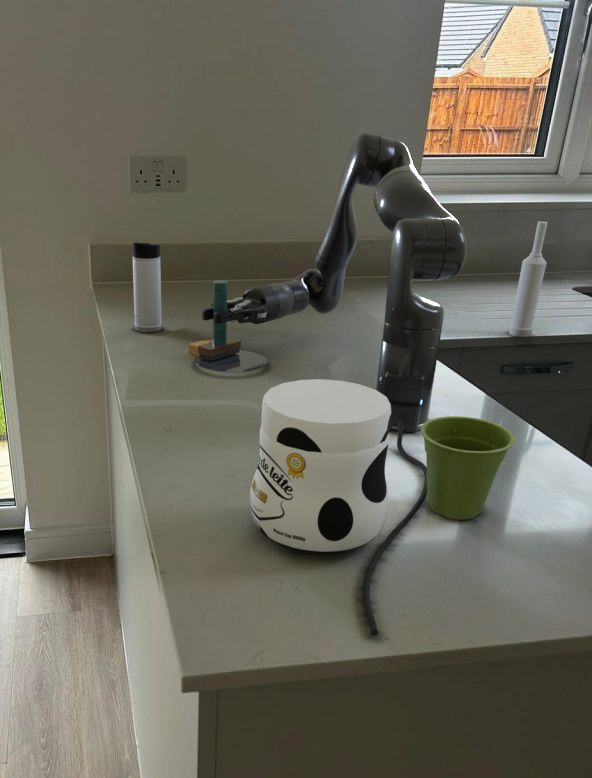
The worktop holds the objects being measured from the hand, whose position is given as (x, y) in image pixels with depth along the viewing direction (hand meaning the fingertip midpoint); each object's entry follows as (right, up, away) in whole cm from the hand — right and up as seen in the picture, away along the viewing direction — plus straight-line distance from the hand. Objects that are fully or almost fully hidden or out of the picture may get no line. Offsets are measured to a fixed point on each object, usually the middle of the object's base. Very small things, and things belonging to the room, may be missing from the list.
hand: (209, 316), depth 157 cm
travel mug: (-14, +4, +28) cm, 31 cm away
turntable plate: (+4, -9, +4) cm, 11 cm away
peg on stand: (+2, -7, +6) cm, 9 cm away
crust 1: (-2, -6, +7) cm, 10 cm away
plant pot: (+33, -39, -50) cm, 71 cm away
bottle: (+73, +2, +27) cm, 78 cm away
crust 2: (+2, -5, +10) cm, 11 cm away
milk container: (+14, -42, -55) cm, 71 cm away
